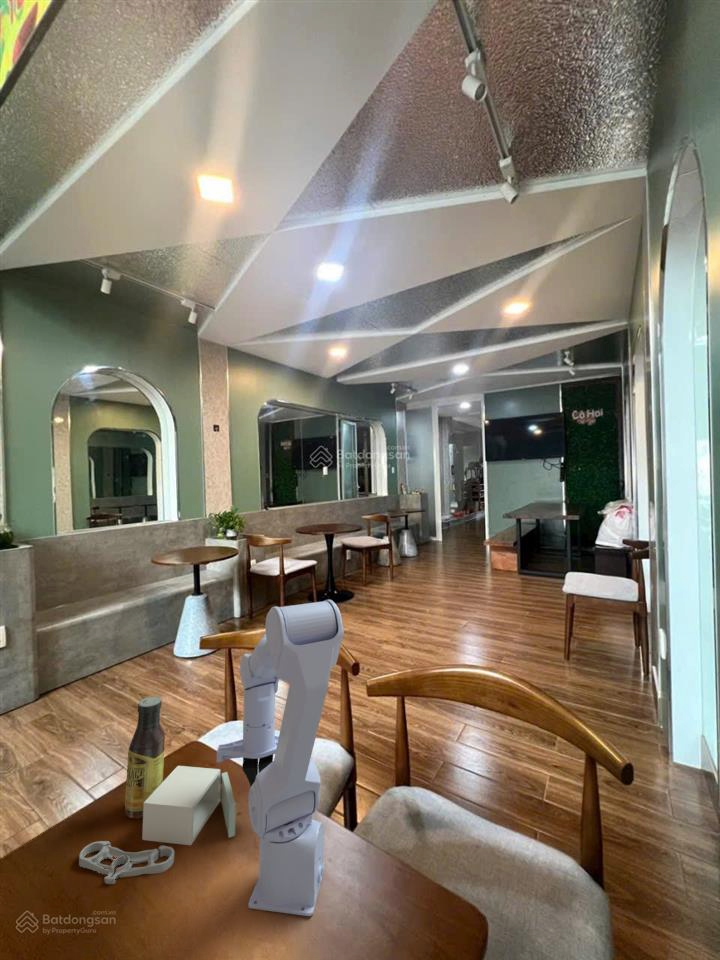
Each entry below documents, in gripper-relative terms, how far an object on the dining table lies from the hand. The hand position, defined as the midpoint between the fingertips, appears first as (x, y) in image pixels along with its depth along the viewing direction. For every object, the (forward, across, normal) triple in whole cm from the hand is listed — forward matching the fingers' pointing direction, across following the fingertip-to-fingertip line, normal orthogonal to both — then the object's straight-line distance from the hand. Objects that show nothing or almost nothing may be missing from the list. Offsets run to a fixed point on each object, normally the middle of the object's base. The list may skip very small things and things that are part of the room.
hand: (257, 796), depth 71 cm
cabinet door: (+4, +6, -2) cm, 7 cm away
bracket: (+5, +20, +5) cm, 21 cm away
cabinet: (+4, +14, -3) cm, 14 cm away
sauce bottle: (+5, +22, -7) cm, 23 cm away
